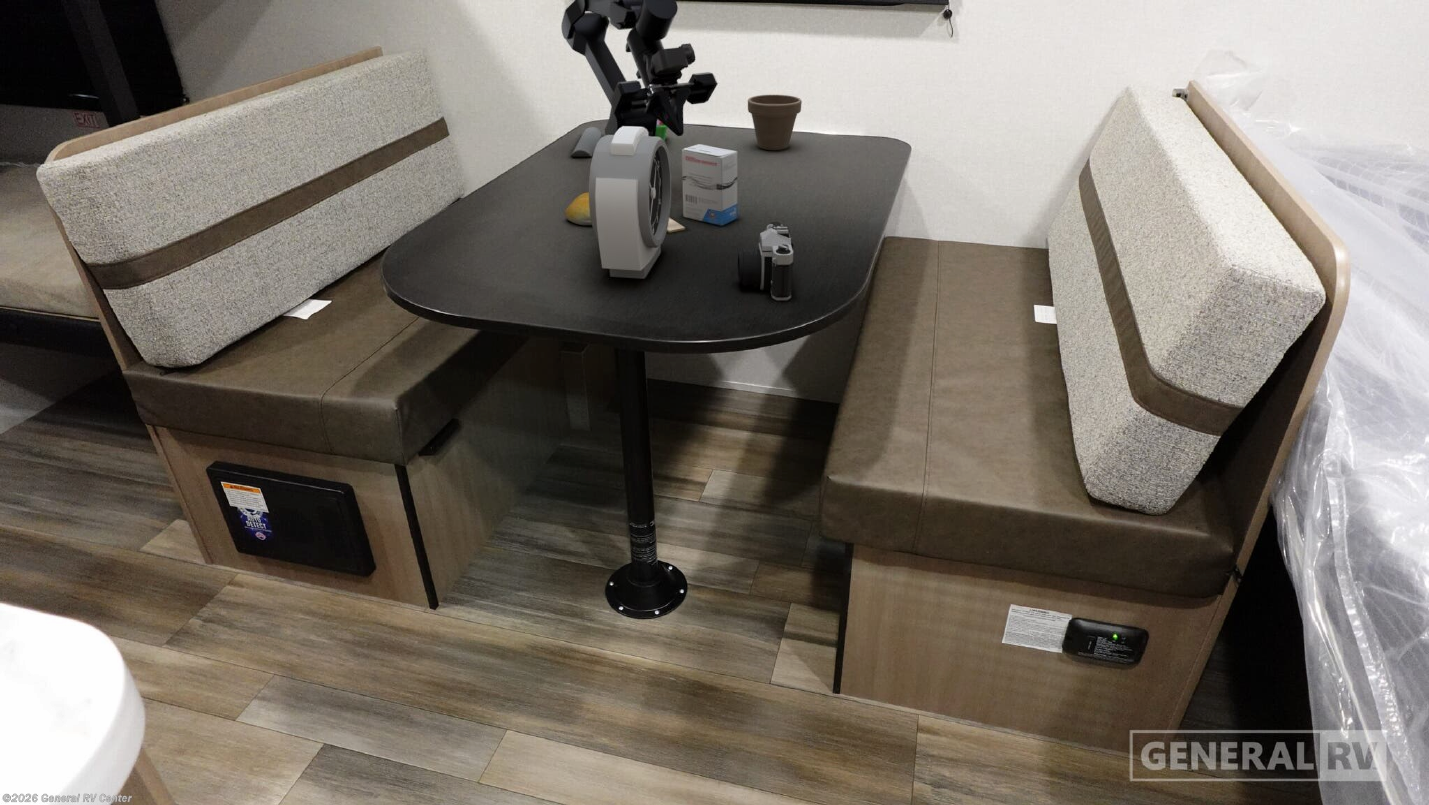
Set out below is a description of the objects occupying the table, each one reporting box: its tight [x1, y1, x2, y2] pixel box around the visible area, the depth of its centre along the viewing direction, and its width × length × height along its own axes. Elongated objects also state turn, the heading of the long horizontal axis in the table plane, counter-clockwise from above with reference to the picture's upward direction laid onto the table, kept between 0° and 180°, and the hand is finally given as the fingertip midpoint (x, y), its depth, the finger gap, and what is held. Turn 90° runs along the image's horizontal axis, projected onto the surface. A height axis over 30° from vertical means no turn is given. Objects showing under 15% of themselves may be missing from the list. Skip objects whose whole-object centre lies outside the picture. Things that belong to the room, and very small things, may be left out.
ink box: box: [681, 143, 738, 227], centre depth 149 cm, size 8×5×12 cm, turn 53°
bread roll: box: [565, 191, 592, 226], centre depth 151 cm, size 8×9×4 cm
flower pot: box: [747, 94, 803, 151], centre depth 189 cm, size 12×11×10 cm
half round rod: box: [571, 126, 602, 158], centre depth 192 cm, size 4×20×2 cm, turn 0°
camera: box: [737, 221, 795, 301], centre depth 125 cm, size 13×8×9 cm, turn 5°
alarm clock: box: [588, 126, 673, 280], centre depth 129 cm, size 18×8×20 cm, turn 170°
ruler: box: [666, 217, 686, 234], centre depth 152 cm, size 16×3×1 cm, turn 29°
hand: (680, 134), depth 153 cm, fingers closed
